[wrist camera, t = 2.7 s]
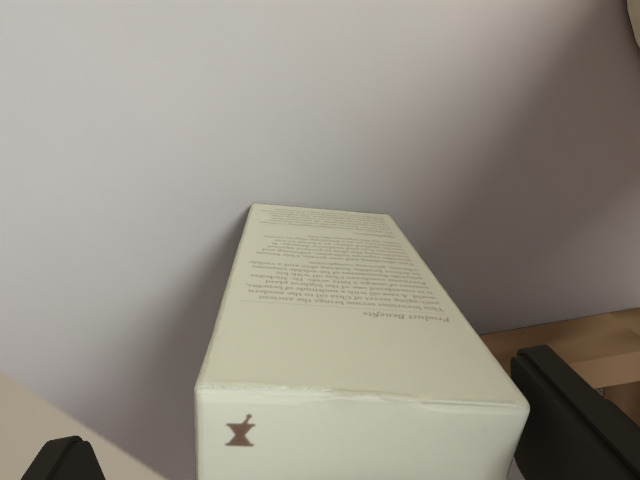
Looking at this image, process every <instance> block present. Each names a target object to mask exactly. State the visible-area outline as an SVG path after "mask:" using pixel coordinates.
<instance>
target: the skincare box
mask: <svg viewBox="0 0 640 480" xmlns="http://www.w3.org/2000/svg"><path fill="white" fill-rule="evenodd" d="M529 412H530V405H529V403H528V401H527V399H526V398H525V397H524V395H523V394H522V393H521V392H520V390H519V389H518V388H517V386H516V385H515V384H514V382H513V381H512V380H511V379H510V377H509V376H508V375H507V373H506V372H505V371H504V370H503V368H502V367H501V365H500V364H499V362H498V361H497V360H496V359H495V357H494V356H493V355H492V354H491V352H490V351H489V349H488V348H487V346H486V345H485V344H484V343H483V341H482V340H481V339H480V337H479V336H478V335H477V333H476V332H475V331H474V329H473V328H472V326H471V325H470V324H469V322H468V321H467V320H466V318H465V317H464V316H463V314H462V313H461V312H460V310H459V309H458V307H457V306H456V305H455V303H454V302H453V301H452V299H451V298H450V297H449V295H448V294H447V292H446V291H445V290H444V288H443V287H442V285H441V284H440V283H439V281H438V280H437V279H436V277H435V276H434V275H433V273H432V272H431V271H430V269H429V268H428V266H427V265H426V264H425V262H424V261H423V260H422V258H421V257H420V255H419V254H418V253H417V251H416V250H415V249H414V247H413V246H412V244H411V243H410V242H409V241H408V239H407V238H406V236H405V235H404V234H403V232H402V231H401V230H400V228H399V227H398V225H397V224H396V223H395V221H394V220H393V219H392V217H391V216H390V215H387V214H374V213H362V212H351V211H340V210H329V209H315V208H304V207H291V206H279V205H268V204H258V203H253V204H252V205H251V207H250V210H249V213H248V217H247V221H246V224H245V227H244V230H243V234H242V237H241V240H240V243H239V246H238V249H237V252H236V256H235V259H234V262H233V265H232V269H231V272H230V275H229V279H228V282H227V285H226V289H225V292H224V295H223V298H222V301H221V305H220V309H219V312H218V316H217V319H216V322H215V326H214V330H213V333H212V337H211V340H210V343H209V346H208V348H207V351H206V354H205V357H204V360H203V363H202V366H201V369H200V372H199V375H198V378H197V381H196V384H195V387H194V419H195V480H506V478H507V475H508V472H509V469H510V466H511V463H512V460H513V457H514V454H515V451H516V448H517V446H518V443H519V440H520V437H521V434H522V431H523V429H524V426H525V423H526V421H527V418H528V415H529Z"/></svg>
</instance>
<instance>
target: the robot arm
mask: <svg viewBox="0 0 640 480" xmlns="http://www.w3.org/2000/svg"><path fill="white" fill-rule="evenodd" d="M627 5H628V13H629V17H630V20H631V24H632V28H633V32H634V35H635V39H636V42H637V44H638V46H639V48H640V0H627ZM510 371H511V380H512V381H513V382H514V384H515V385H516V386H517V388H518V389H519V390H520V392H521V393H522V394H523V395H524V397H525V398H526V399H527V401H528V403H529V405H530V412H529V415H528V418H527V421H526V423H525V426H524V429H523V431H522V434H521V437H520V440H519V443H518V446H517V448H516V451H515V454H514V457H515V461H516V463H517V466H518V468H519V470H520V472H521V473H522V475H523V476H524V478H525V479H526V480H640V427H639V426H638V425H637V424H636V423H635V422H634V421H633V420H632V419H630V418H629V417H628V416H627V415H626V414H625V413H624V412H623V411H622V410H621V409H620V408H619V407H618V406H617V405H615V404H614V403H613V402H611V401H610V400H608V399H605V398H603V397H602V396H601V395H600V394H599V393H598V392H596V391H595V390H594V389H593V388H592V387H591V386H590V385H589V384H588V383H587V382H586V381H585V380H584V379H583V378H582V377H581V376H580V375H579V374H578V373H576V372H575V371H574V370H573V369H572V368H571V367H570V366H569V365H568V364H567V363H566V362H565V361H564V360H563V359H562V358H561V357H560V356H559V355H557V354H556V353H555V352H554V351H553V350H552V349H551V348H550V347H549V346H547V345H545V344H542V345H537V346H532V347H526V348H521V349H519V350H518V351H517V356H516V357H512V358H511V360H510ZM21 480H105V477H104V475H103V472H102V470H101V468H100V465H99V463H98V461H97V458H96V456H95V453H94V451H93V449H92V446H91V444H90V443H89V442H88V441H83V440H82V438H80V437H79V436H71V437H65V438H60V439H55V440H50V441H48V442H47V443H46V444H45V445H44V446H43V447H42V449H41V450H40V452H39V453H38V455H37V456H36V458H35V459H34V461H33V462H32V464H31V465H30V467H29V468H28V470H27V471H26V472H25V474H24V475H23V477H22V479H21Z"/></svg>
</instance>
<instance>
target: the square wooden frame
mask: <svg viewBox="0 0 640 480" xmlns="http://www.w3.org/2000/svg"><path fill="white" fill-rule="evenodd" d="M479 337H480V339H481V340H482V341H483V343H484V344H485V345H486V346H487V348H488V349H489V351H490V352H491V354H492V355H493V356H494V357H495V359H496V360H497V361H498V362H499V364H500V365H501V367H502V368H503V370H504V371H505V372H506V373H507V375H508V376H509V377H510V379H511V371H510V360H511V358H512V357H516V356H517V351H518V350H519V349H521V348H526V347H532V346H537V345H542V344H545V345H547V346H549V347H550V348H551V349H552V350H553V351H554V352H555V353H556V354H557V355H559V356H560V357H561V358H562V359H563V360H564V361H565V362H566V363H567V364H568V365H569V366H570V367H571V368H572V369H573V370H574V371H575V372H576V373H578V374H579V375H580V376H581V377H582V378H583V379H584V380H585V381H586V382H587V383H588V384H589V385H590V386H591V387H592V388H593V389H595V388H601V387H604V398H605V399H608V400H610V401H611V402H613V403H614V404H615V405H617V406H618V407H619V408H620V409H621V410H622V411H623V412H624V413H625V414H626V415H627V416H628V417H629V418H630V419H632V420H633V421H634V422H635V423H636V424H637V425H638V426H639V427H640V307H639V308H634V309H628V310H622V311H617V312H611V313H605V314H600V315H594V316H588V317H582V318H577V319H571V320H565V321H560V322H554V323H548V324H543V325H537V326H531V327H525V328H520V329H514V330H508V331H503V332H497V333H491V334H486V335H480V336H479Z"/></svg>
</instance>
